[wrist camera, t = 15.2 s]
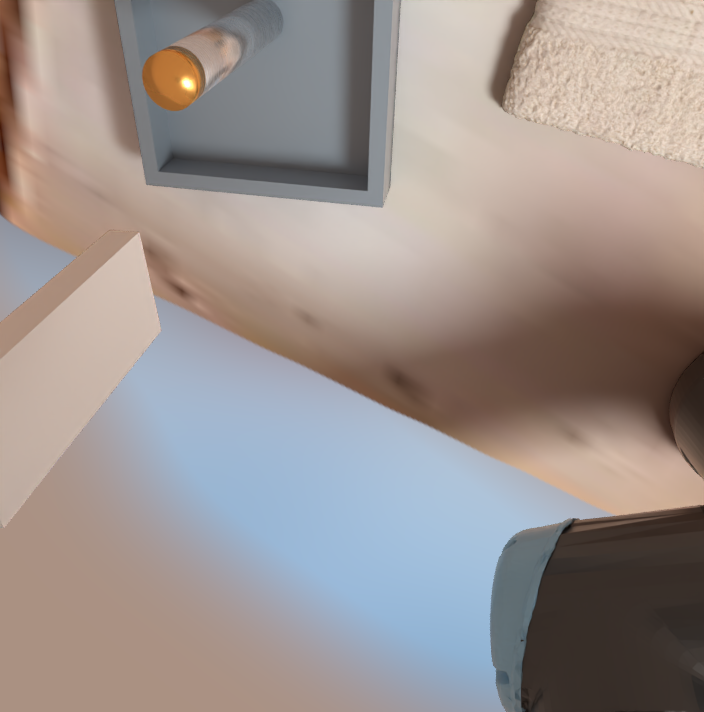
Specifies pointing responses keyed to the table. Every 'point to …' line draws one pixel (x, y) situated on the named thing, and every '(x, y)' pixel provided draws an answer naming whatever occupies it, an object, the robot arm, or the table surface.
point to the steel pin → (210, 54)
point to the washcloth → (615, 73)
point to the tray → (275, 102)
